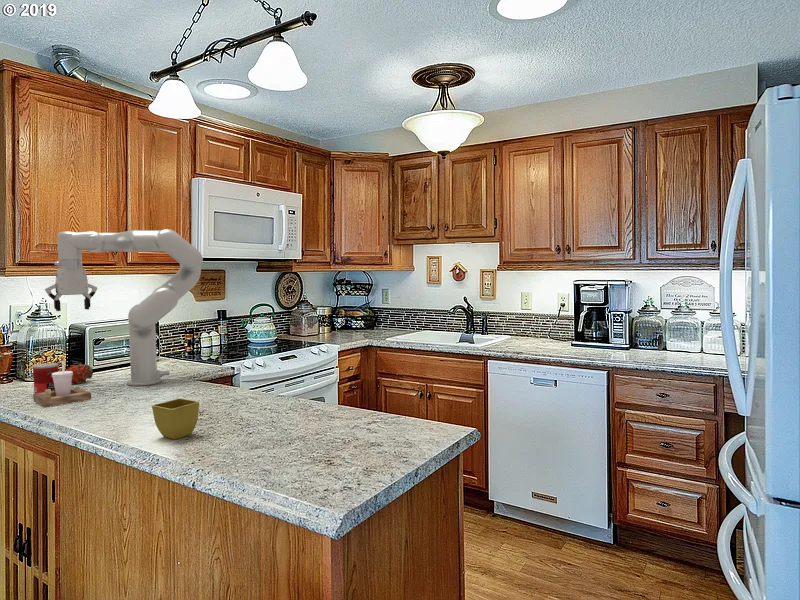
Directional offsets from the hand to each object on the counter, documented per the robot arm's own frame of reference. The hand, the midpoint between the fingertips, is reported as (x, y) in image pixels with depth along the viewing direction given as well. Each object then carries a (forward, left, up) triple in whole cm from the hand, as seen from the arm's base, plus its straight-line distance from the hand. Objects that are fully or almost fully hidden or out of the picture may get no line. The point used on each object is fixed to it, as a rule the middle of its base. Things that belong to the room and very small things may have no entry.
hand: (72, 310), depth 205 cm
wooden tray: (+9, +16, -30) cm, 35 cm away
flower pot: (+1, +88, -31) cm, 93 cm away
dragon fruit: (-4, -13, -31) cm, 33 cm away
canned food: (+10, +1, -31) cm, 32 cm away
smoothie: (+9, +16, -31) cm, 36 cm away
